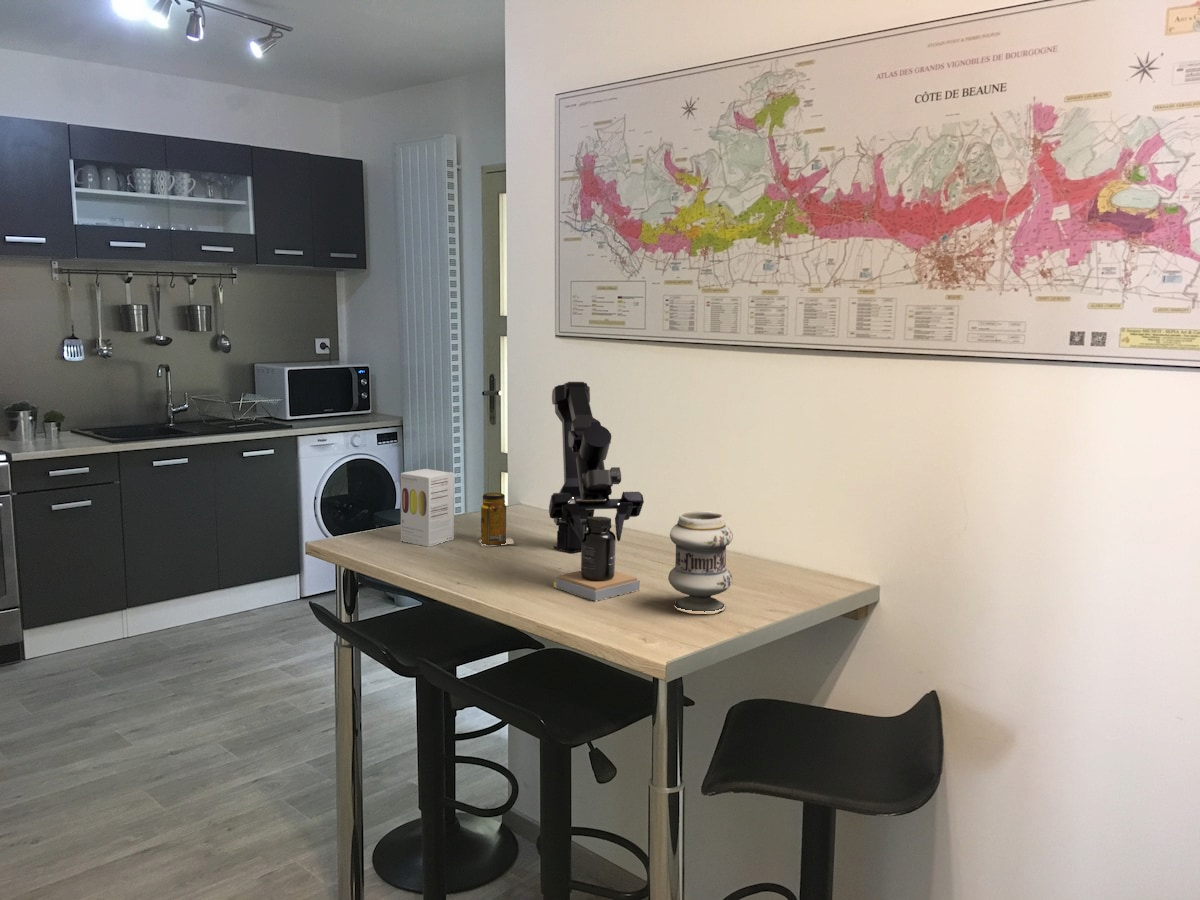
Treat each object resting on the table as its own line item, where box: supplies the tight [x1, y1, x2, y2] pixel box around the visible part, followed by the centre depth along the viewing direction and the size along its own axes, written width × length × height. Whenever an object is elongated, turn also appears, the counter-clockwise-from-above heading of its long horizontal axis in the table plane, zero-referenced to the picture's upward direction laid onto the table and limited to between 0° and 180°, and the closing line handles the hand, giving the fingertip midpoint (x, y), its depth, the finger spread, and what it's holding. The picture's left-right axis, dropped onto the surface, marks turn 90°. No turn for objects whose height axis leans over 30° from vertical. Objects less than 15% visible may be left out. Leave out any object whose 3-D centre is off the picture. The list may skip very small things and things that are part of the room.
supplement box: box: [400, 468, 455, 548], centre depth 225 cm, size 10×9×17 cm
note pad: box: [553, 570, 641, 602], centre depth 188 cm, size 12×12×3 cm
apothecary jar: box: [667, 510, 734, 612], centre depth 177 cm, size 12×12×18 cm
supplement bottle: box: [580, 515, 617, 581], centre depth 187 cm, size 7×7×12 cm
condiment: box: [480, 492, 518, 547], centre depth 225 cm, size 7×8×12 cm
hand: (601, 540), depth 185 cm, fingers open, 7 cm apart
